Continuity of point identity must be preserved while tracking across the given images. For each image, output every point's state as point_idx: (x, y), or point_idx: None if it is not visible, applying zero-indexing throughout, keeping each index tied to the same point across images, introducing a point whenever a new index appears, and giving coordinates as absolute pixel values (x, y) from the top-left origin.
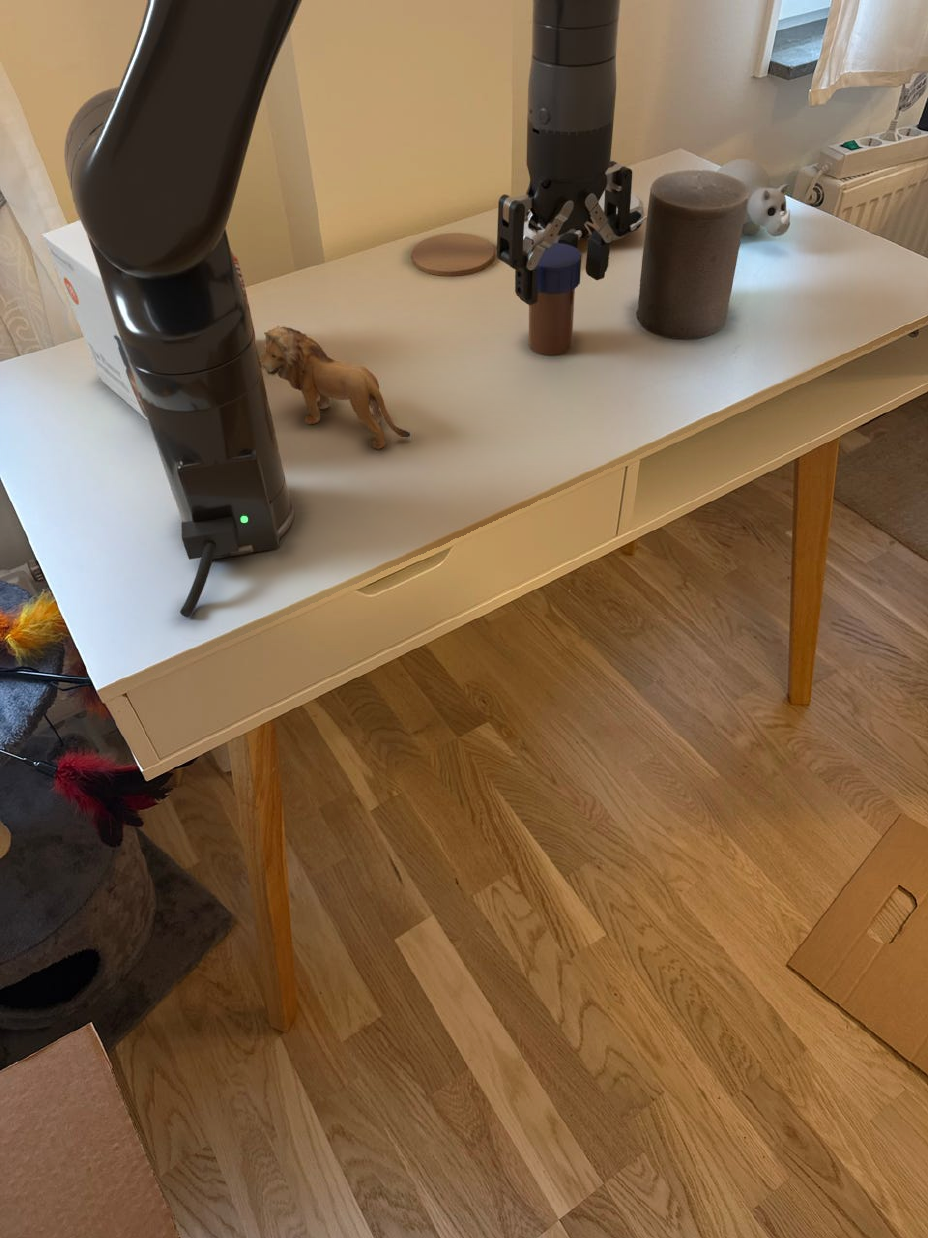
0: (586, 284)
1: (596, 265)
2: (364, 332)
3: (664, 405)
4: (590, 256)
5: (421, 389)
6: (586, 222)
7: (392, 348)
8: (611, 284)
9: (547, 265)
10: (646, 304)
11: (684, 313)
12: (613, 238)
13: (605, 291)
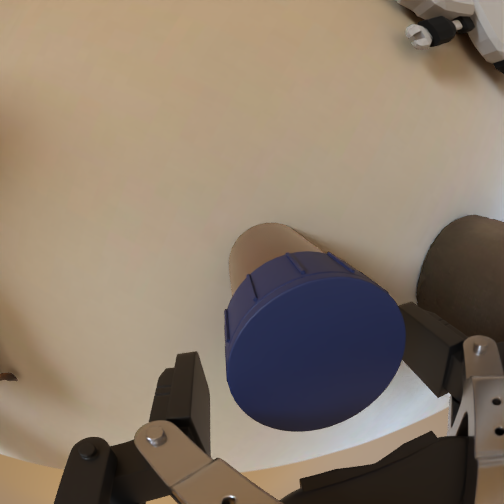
0: (419, 114)
1: (409, 353)
2: (11, 95)
3: (318, 435)
4: (419, 340)
5: (33, 290)
6: (458, 416)
7: (23, 156)
8: (446, 140)
9: (265, 414)
10: (440, 295)
11: None
12: (487, 61)
13: (432, 153)
